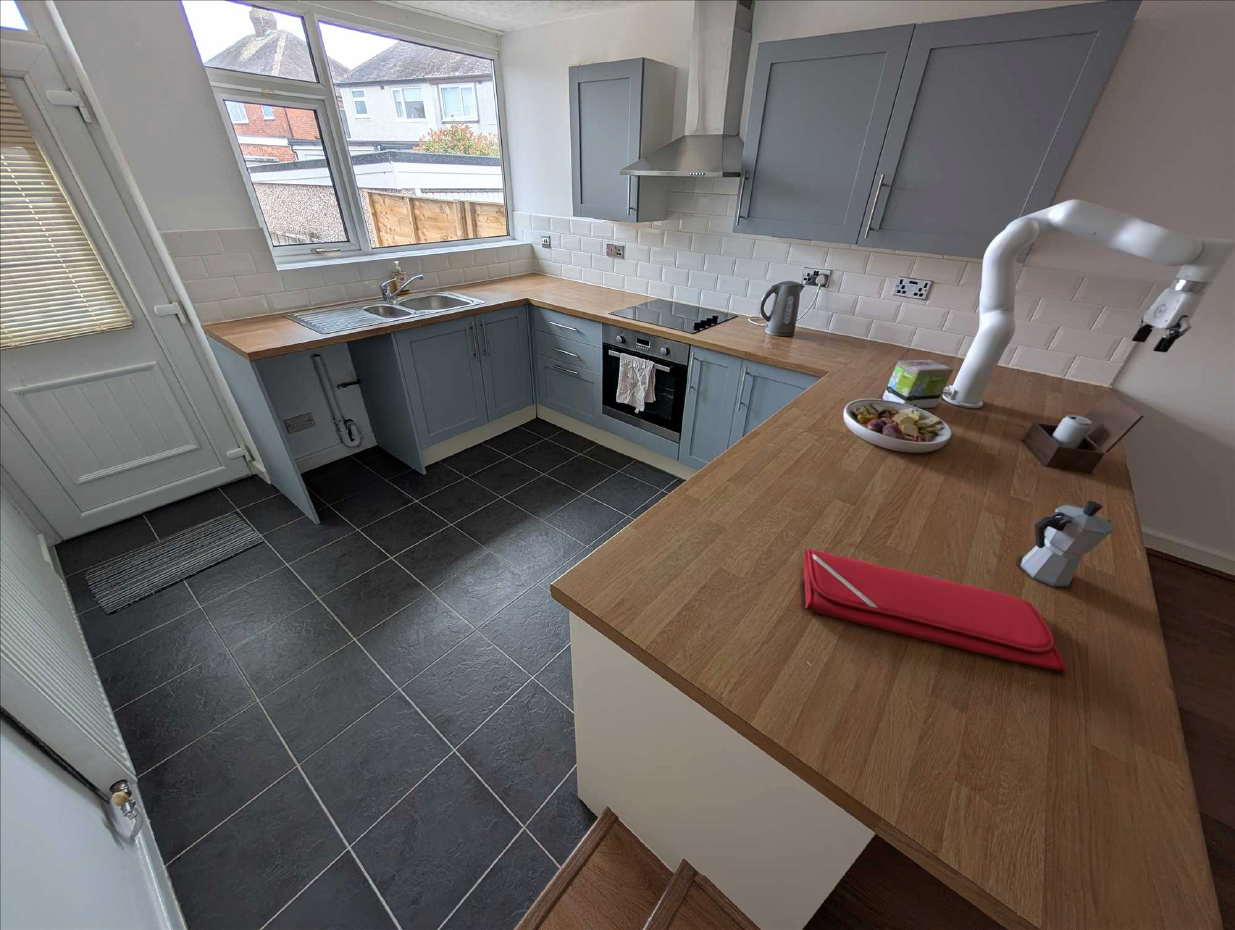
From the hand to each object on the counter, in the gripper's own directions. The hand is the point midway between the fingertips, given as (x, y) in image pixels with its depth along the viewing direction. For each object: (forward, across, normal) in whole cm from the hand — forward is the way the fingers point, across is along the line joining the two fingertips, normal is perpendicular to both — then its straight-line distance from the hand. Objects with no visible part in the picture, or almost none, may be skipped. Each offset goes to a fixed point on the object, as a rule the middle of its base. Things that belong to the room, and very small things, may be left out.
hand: (1148, 346), depth 142 cm
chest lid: (+16, +23, -14) cm, 32 cm away
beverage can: (+29, +23, -20) cm, 42 cm away
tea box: (+30, -3, -55) cm, 63 cm away
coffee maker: (+30, +82, -50) cm, 101 cm away
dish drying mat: (+30, +102, -78) cm, 132 cm away
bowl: (+30, +25, -67) cm, 78 cm away
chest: (+29, +23, -20) cm, 43 cm away
